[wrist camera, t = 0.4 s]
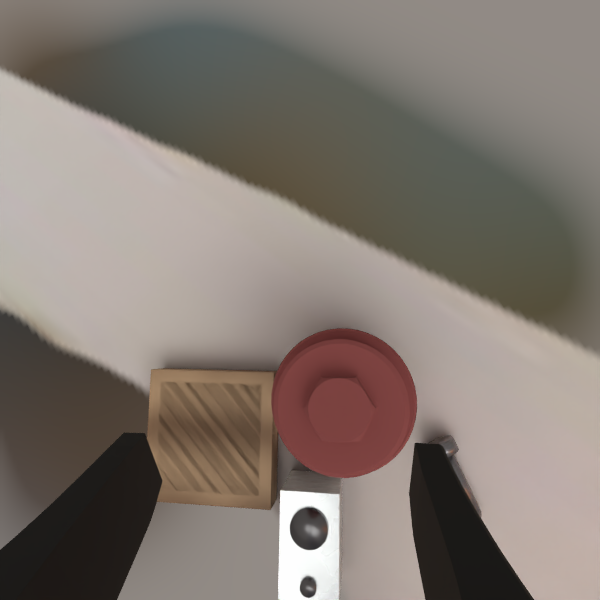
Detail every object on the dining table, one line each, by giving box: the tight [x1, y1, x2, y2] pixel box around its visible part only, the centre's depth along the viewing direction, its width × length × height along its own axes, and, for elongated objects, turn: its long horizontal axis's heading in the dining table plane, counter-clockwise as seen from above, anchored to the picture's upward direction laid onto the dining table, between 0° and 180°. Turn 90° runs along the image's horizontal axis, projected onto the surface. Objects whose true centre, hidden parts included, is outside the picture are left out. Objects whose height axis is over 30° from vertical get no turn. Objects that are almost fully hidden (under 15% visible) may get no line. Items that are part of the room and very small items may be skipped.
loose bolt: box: [428, 436, 481, 518], centre depth 33 cm, size 7×2×2 cm, turn 24°
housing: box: [278, 470, 342, 600], centre depth 33 cm, size 8×4×6 cm, turn 179°
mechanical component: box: [271, 328, 417, 478], centre depth 31 cm, size 12×10×10 cm
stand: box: [147, 368, 278, 510], centre depth 37 cm, size 11×11×2 cm
